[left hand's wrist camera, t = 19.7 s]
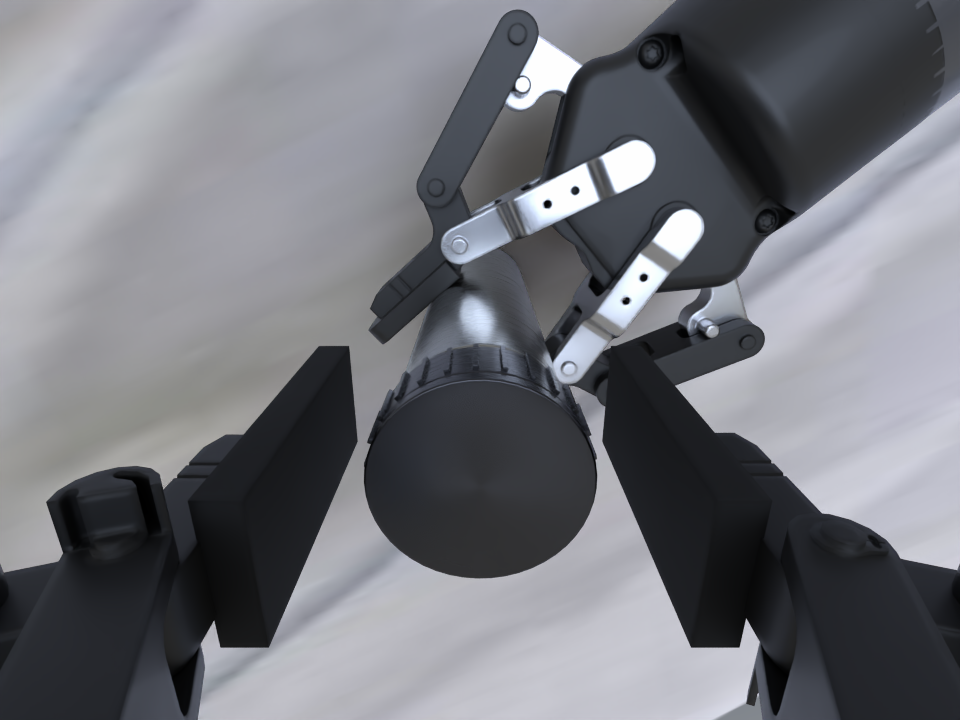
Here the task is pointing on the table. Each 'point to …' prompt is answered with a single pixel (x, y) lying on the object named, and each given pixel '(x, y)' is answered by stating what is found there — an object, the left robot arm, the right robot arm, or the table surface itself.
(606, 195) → the right robot arm
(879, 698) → the left robot arm
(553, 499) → the lid
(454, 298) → the bottle
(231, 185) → the table surface
